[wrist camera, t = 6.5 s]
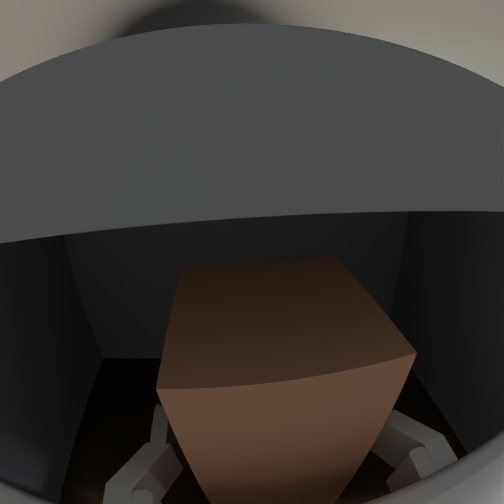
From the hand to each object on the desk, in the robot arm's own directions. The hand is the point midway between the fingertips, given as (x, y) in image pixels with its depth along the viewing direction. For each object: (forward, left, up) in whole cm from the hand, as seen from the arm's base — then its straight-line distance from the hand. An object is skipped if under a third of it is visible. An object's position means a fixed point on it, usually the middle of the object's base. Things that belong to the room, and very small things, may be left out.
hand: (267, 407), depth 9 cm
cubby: (0, -3, -6) cm, 7 cm away
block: (0, +1, -6) cm, 6 cm away
